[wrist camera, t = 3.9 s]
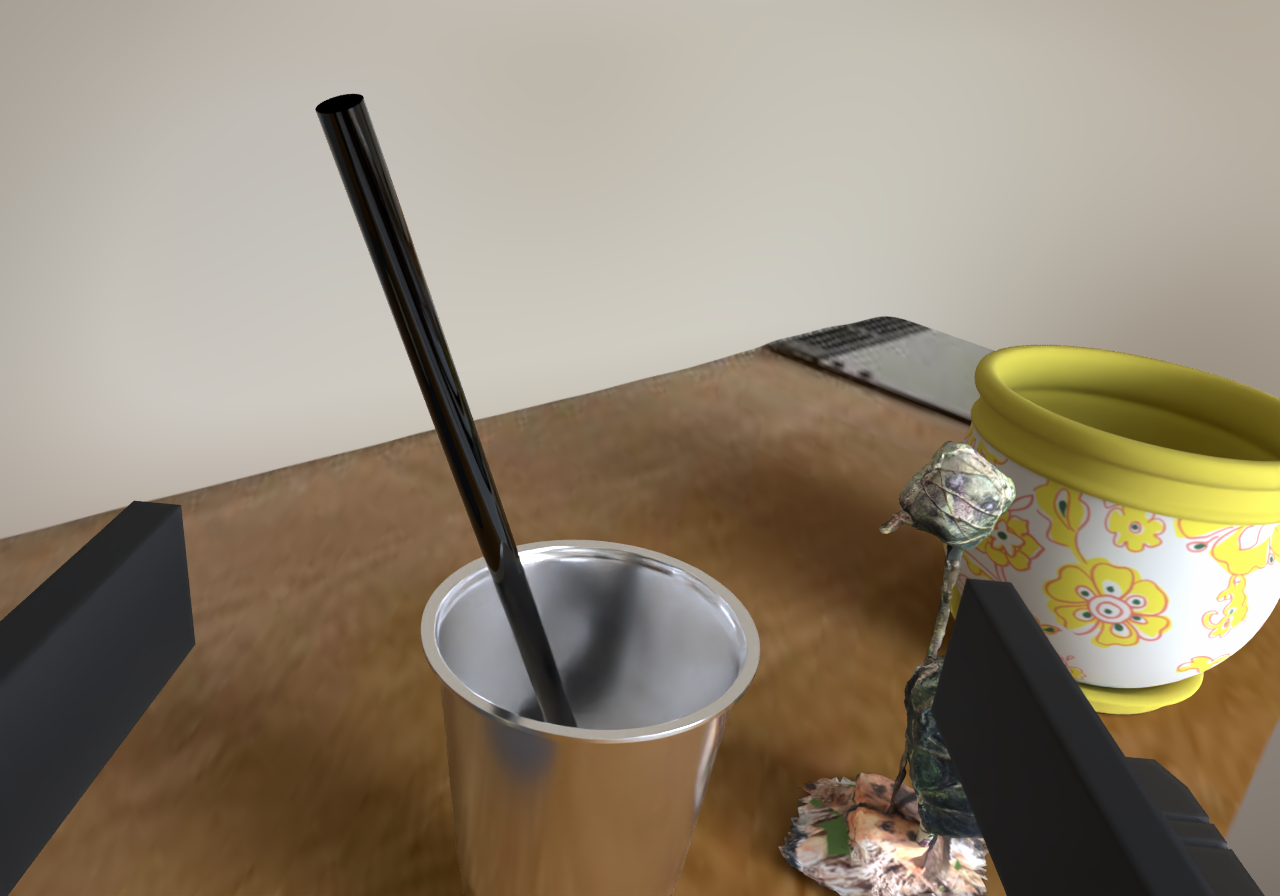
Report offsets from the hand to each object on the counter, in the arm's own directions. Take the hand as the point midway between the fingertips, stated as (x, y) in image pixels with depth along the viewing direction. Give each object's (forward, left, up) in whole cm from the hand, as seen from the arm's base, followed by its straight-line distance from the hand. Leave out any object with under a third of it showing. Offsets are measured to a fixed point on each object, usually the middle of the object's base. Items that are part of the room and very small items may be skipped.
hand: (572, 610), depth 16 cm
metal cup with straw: (-6, +7, -23) cm, 25 cm away
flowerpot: (0, +45, -23) cm, 51 cm away
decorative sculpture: (+1, +22, -23) cm, 32 cm away
